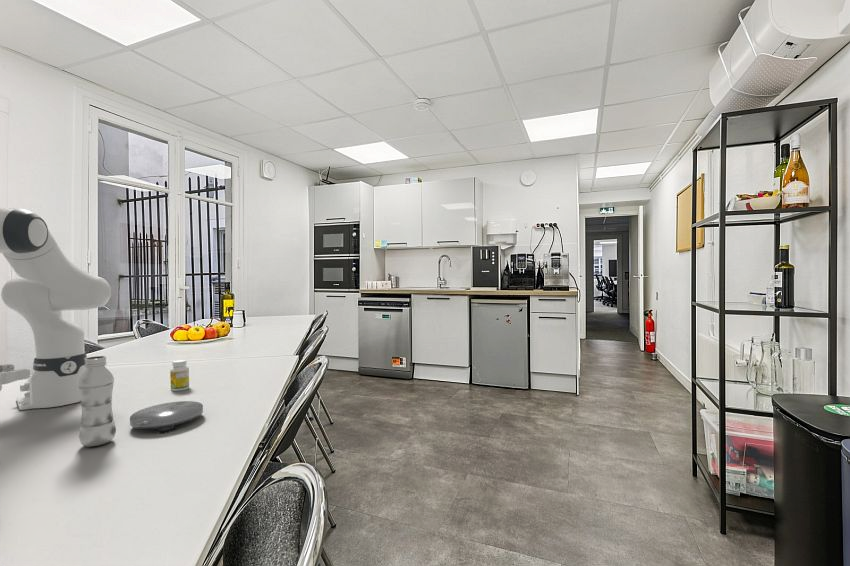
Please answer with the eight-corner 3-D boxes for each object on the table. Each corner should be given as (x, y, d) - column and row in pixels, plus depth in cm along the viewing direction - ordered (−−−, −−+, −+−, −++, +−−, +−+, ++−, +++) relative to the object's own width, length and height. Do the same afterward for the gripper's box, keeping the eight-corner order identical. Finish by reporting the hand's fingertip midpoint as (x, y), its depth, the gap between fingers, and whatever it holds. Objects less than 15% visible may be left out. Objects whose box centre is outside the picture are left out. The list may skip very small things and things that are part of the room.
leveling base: (118, 426, 99) (117, 415, 99) (183, 408, 113) (183, 397, 113) (149, 440, 91) (149, 427, 91) (215, 418, 105) (215, 407, 105)
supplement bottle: (189, 389, 132) (189, 361, 132) (171, 392, 129) (170, 363, 129) (188, 385, 136) (187, 358, 136) (170, 388, 133) (169, 360, 133)
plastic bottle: (95, 451, 86) (93, 361, 85) (71, 449, 87) (68, 360, 86) (123, 439, 92) (121, 355, 91) (100, 437, 93) (98, 354, 93)
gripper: (-81, 376, 61) (39, 359, 73) (-104, 363, 71) (4, 350, 83) (-80, 416, 61) (39, 393, 73) (-103, 397, 71) (5, 380, 83)
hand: (20, 370), depth 78 cm, fingers open, 8 cm apart
